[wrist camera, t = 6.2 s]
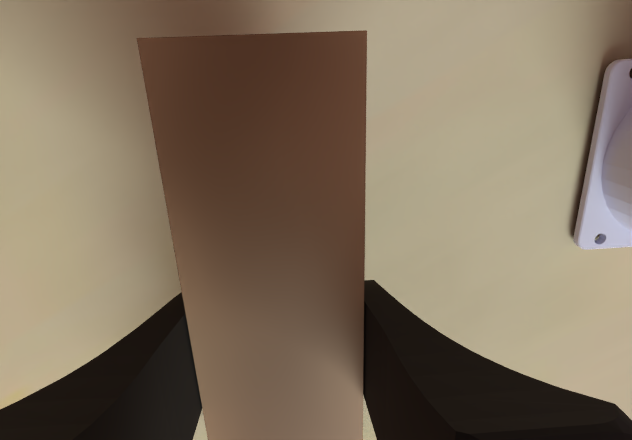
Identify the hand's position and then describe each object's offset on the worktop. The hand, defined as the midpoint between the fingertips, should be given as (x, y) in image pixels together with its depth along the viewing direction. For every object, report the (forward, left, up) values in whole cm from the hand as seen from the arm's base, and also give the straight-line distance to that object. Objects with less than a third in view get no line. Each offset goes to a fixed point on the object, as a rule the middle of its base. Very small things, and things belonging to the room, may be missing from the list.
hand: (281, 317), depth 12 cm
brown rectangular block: (0, +2, -2) cm, 3 cm away
